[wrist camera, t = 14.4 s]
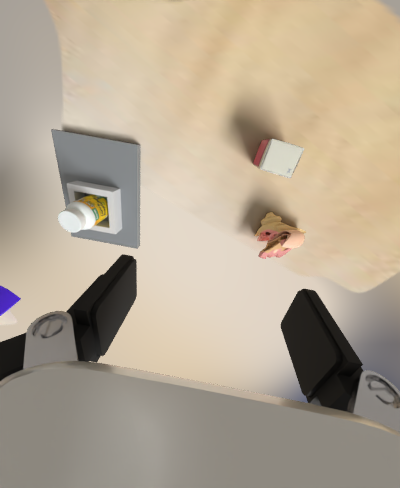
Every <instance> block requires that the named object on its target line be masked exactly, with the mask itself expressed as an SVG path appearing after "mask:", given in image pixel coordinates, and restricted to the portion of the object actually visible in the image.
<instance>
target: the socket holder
mask: <svg viewBox="0 0 400 488" xmlns="http://www.w3.org/2000/svg"><path fill="white" fill-rule="evenodd" d="M51 131H52V136H53V141H54V147H55V152H56V157H57V162H58V168H59V172H60V178H61V183H62V189H63V194H64V199H65V204H66V207H67V205H68V204H70V203H71V202H74V201H76V200H78V199H81V198H83V197H86V196H88V195H90V194H93V195H99V196H104V197H107V201H108V213H109V216H108V217H106V218H105V219H104V220H102V221H100V222H99V223H98V224H96V225H95V226H93V227H92V228H90V229H87V230H80V231H78V232H75V233H73V232H71V235H72V236H73V237H78V238H84V239H89V240H95V241H100V242H105V243H110V244H116V245H121V246H126V247H131V248H138V247H139V246H140V145H138V144H132V143H127V142H121V141H116V140H110V139H105V138H99V137H94V136H88V135H83V134H77V133H72V132H66V131H60V130H53V129H52V130H51Z"/></svg>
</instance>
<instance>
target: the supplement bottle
mask: <svg viewBox="0 0 400 488" xmlns="http://www.w3.org/2000/svg"><path fill="white" fill-rule="evenodd" d="M108 216H109V213H108V201H107V197H104V196H99V195H93V194H90V195H88V196H86V197H83V198H81V199H78V200H76V201H74V202H71V203H70V204H68V205H67V207H66V209H65V210H64V211H62V212H60V213H59V215H58V220H59V223H60V225H61V226H62V227H63V228H64V229H65V230H67V231H69V232H73V233H75V232H78V231H80V230H87V229H90V228H92V227H93V226H95V225H96V224H98V223H99V222H100V221H102V220H104V219H105V218H106V217H108Z"/></svg>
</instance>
